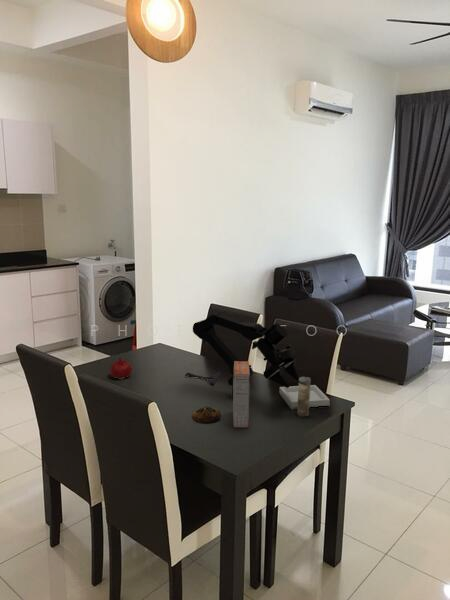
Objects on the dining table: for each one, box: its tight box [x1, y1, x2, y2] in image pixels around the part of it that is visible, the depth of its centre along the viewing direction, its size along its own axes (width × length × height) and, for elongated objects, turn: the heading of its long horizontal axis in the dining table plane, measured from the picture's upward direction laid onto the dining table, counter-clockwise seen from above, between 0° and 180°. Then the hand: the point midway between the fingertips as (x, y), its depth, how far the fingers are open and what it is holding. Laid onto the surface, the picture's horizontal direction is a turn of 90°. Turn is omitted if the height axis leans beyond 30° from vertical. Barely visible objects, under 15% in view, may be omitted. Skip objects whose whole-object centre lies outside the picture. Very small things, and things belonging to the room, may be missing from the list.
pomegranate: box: [109, 357, 133, 378], centre depth 230 cm, size 10×10×9 cm
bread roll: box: [191, 406, 222, 424], centre depth 191 cm, size 11×11×5 cm
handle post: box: [296, 376, 311, 418], centre depth 194 cm, size 4×4×14 cm
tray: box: [278, 384, 331, 410], centre depth 209 cm, size 16×16×3 cm
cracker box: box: [232, 360, 251, 429], centre depth 187 cm, size 14×6×21 cm, turn 178°
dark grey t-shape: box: [184, 371, 221, 386], centre depth 231 cm, size 14×15×3 cm
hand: (293, 383), depth 195 cm, fingers open, 9 cm apart
